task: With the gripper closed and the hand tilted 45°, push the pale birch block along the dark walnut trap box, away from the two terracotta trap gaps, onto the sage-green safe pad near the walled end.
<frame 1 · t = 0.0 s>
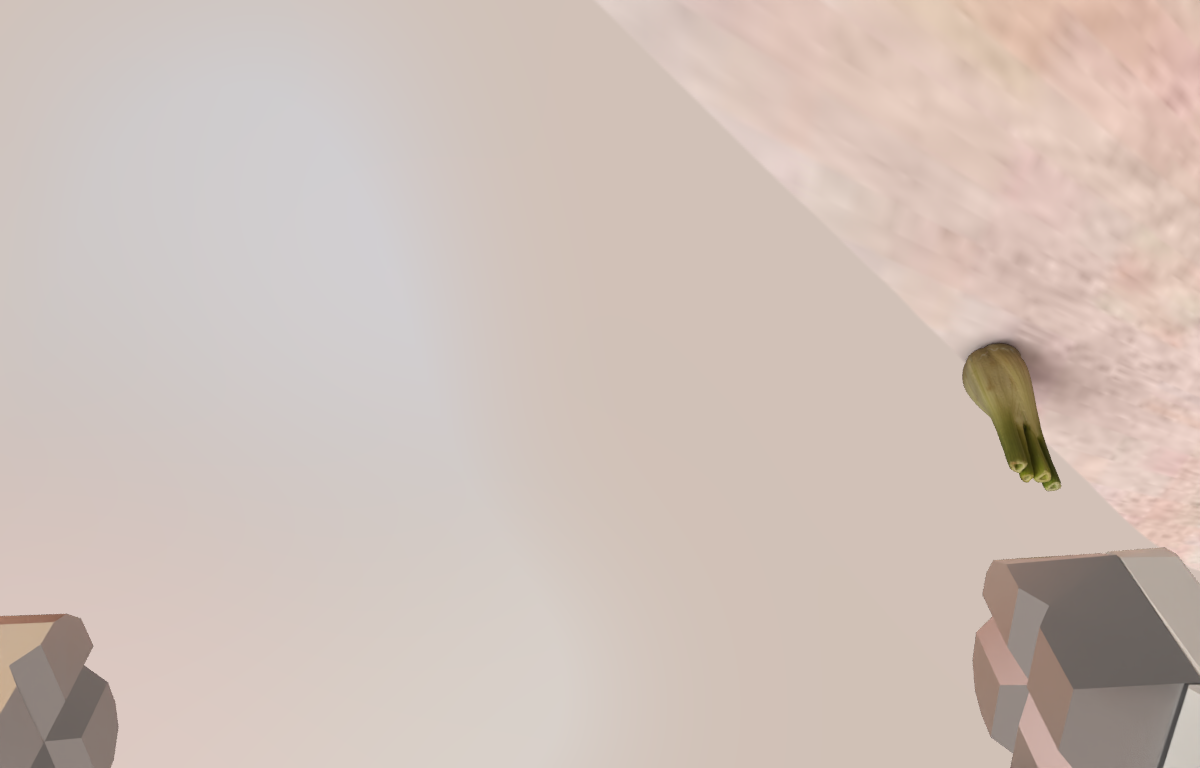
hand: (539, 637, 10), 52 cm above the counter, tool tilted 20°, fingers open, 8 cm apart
fennel bulb: (987, 356, 87), on the counter
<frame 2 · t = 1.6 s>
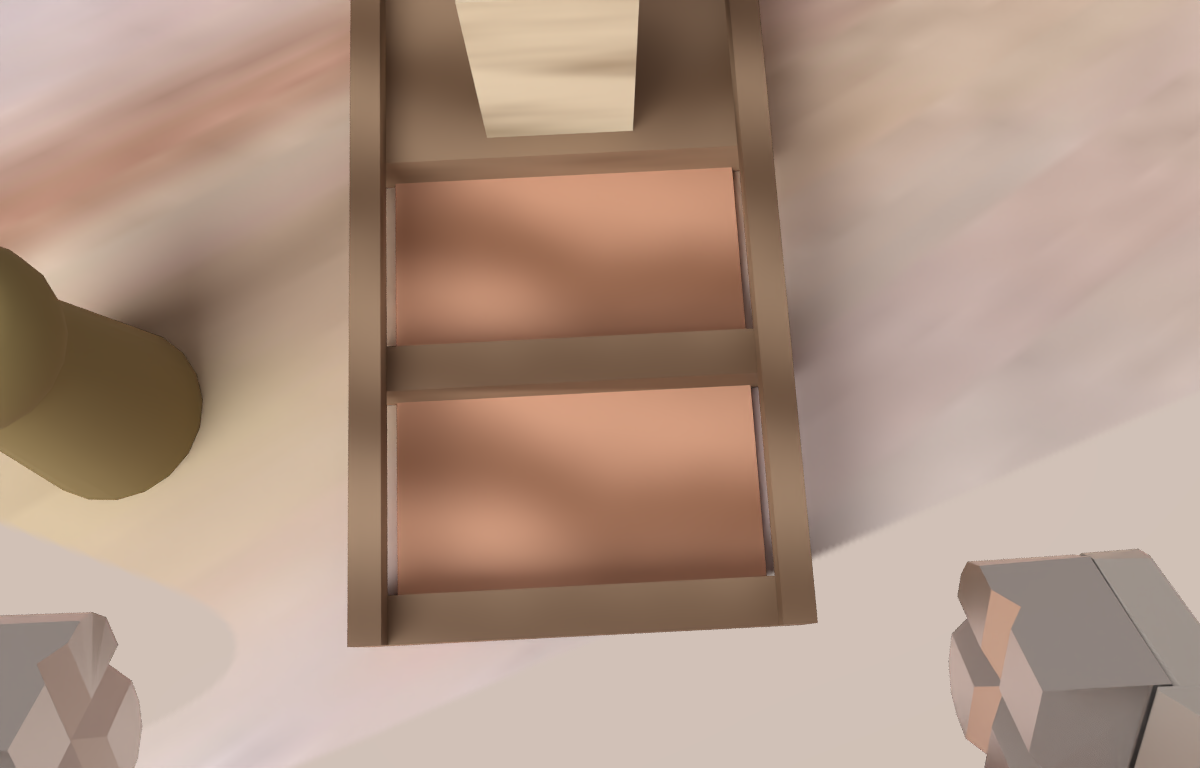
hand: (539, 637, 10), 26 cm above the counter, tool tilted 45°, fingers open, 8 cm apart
trap box: (565, 205, 39), on the counter
birch block: (557, 68, 38), point 2 cm above the counter, touching trap box
cork: (116, 413, 37), on the counter
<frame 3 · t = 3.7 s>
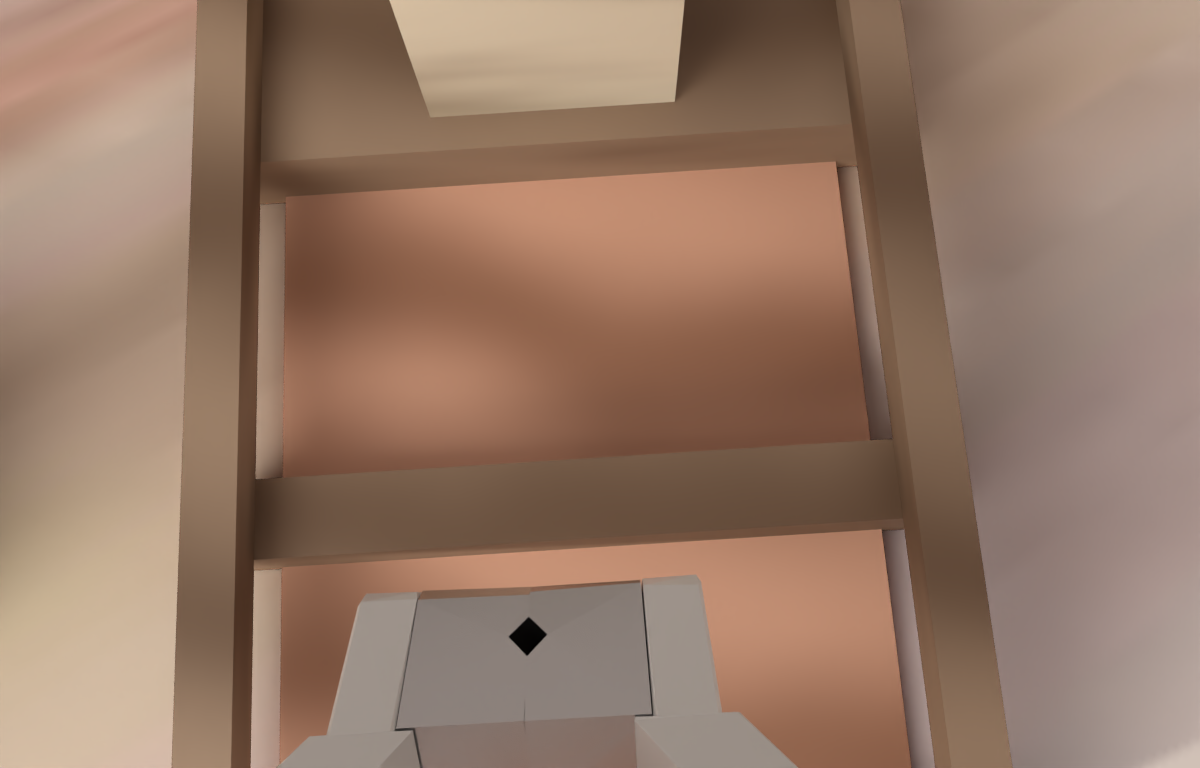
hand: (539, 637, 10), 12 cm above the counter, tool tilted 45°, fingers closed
trap box: (563, 227, 24), on the counter
birch block: (546, 1, 23), point 2 cm above the counter, touching trap box
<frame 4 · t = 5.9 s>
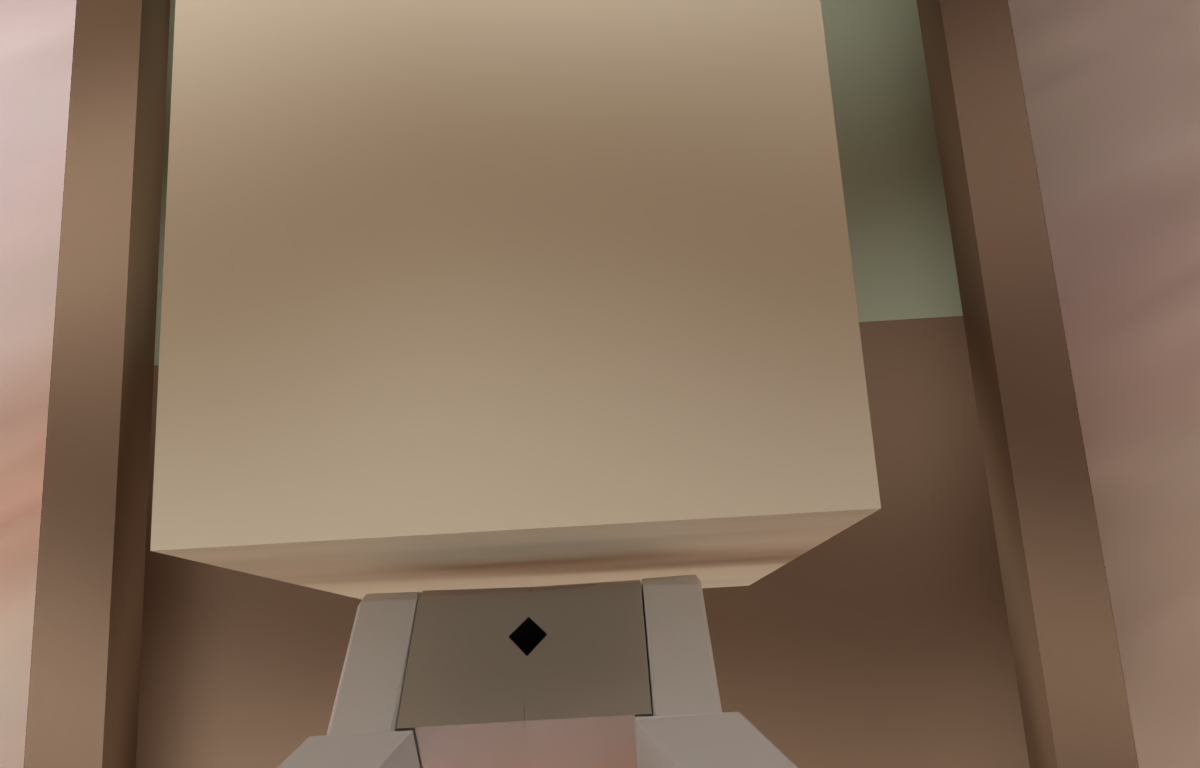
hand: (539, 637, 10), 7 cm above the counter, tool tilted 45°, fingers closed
birch block: (561, 421, 16), point 2 cm above the counter, touching trap box
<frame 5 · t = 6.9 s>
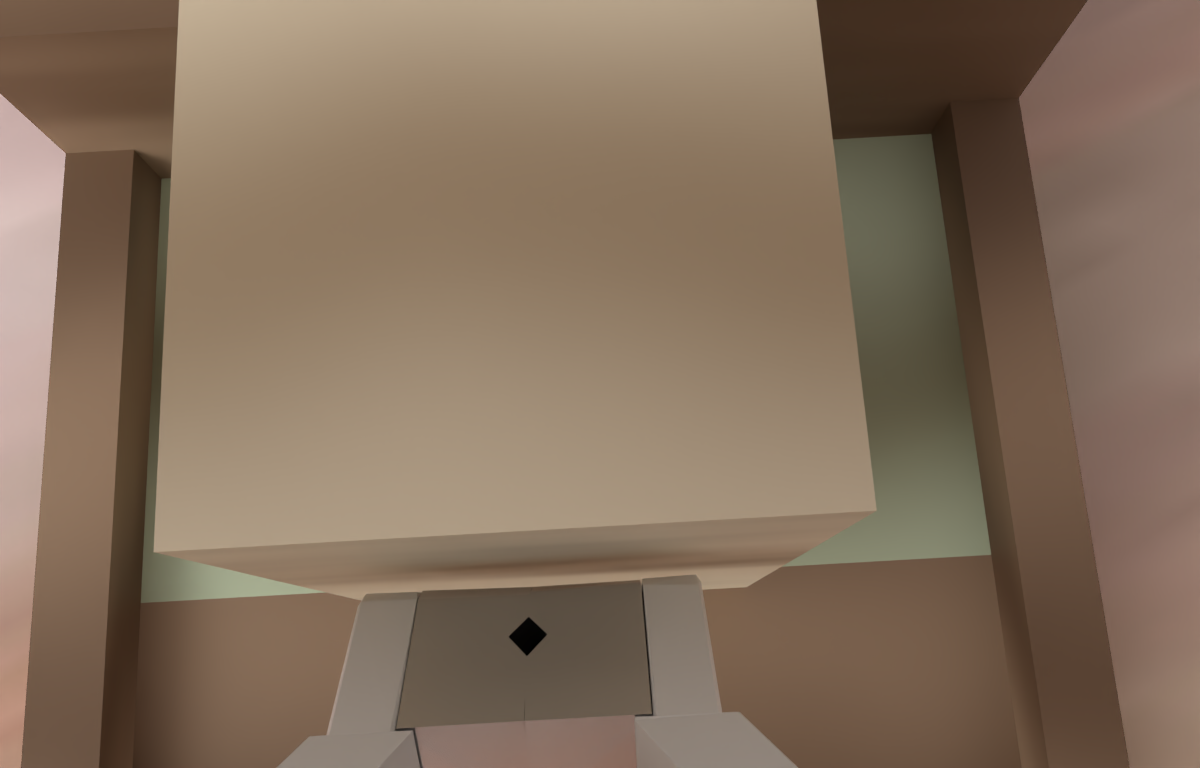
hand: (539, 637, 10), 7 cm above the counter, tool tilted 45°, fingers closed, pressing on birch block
birch block: (560, 423, 16), point 2 cm above the counter, touching gripper, trap box
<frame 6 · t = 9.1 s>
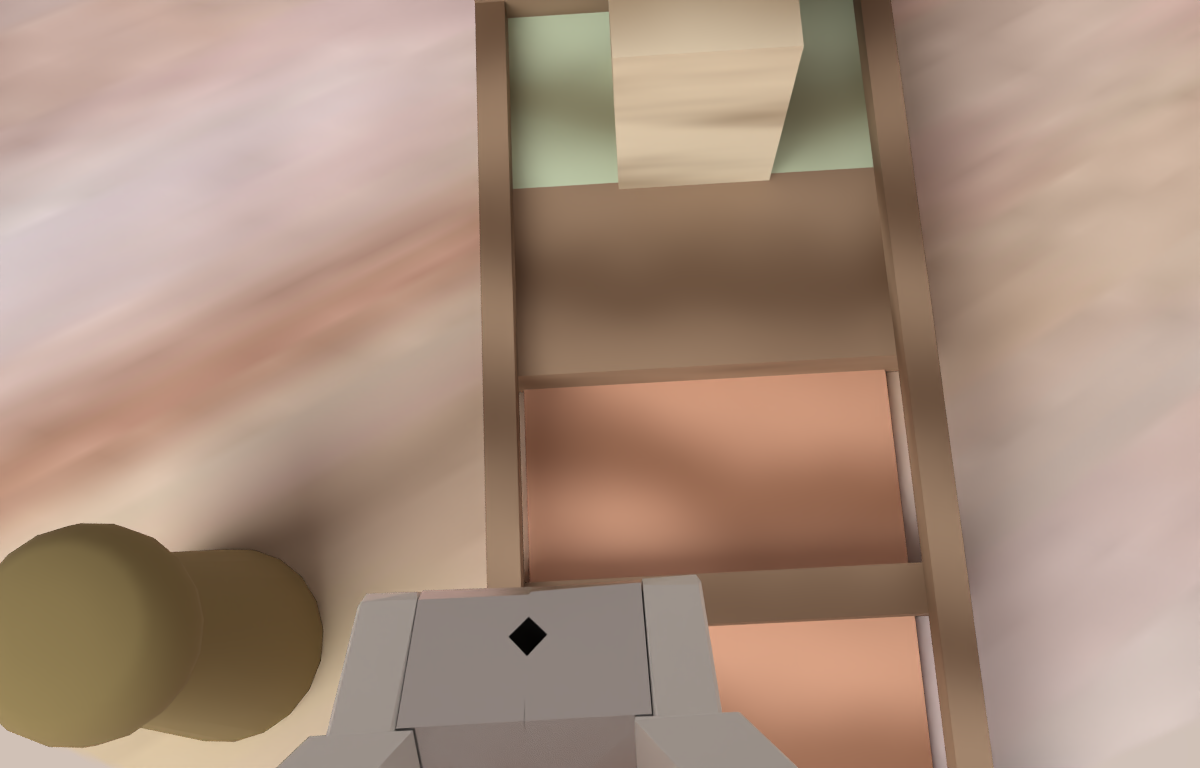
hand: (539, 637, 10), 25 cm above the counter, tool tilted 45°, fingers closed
trap box: (705, 410, 36), on the counter
birch block: (688, 116, 37), point 2 cm above the counter, touching trap box
cork: (231, 643, 35), on the counter
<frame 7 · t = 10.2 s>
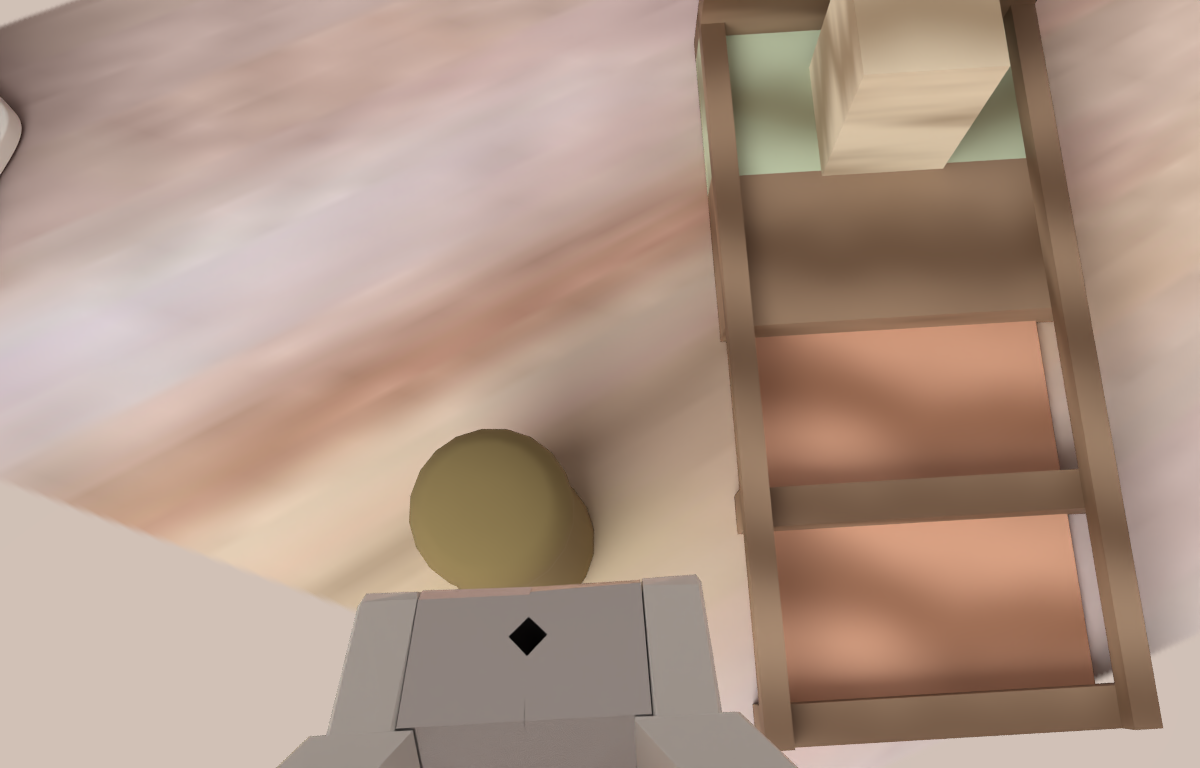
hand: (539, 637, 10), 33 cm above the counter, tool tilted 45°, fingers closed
trap box: (891, 354, 45), on the counter
birch block: (875, 117, 45), point 2 cm above the counter, touching trap box
cork: (519, 542, 44), on the counter
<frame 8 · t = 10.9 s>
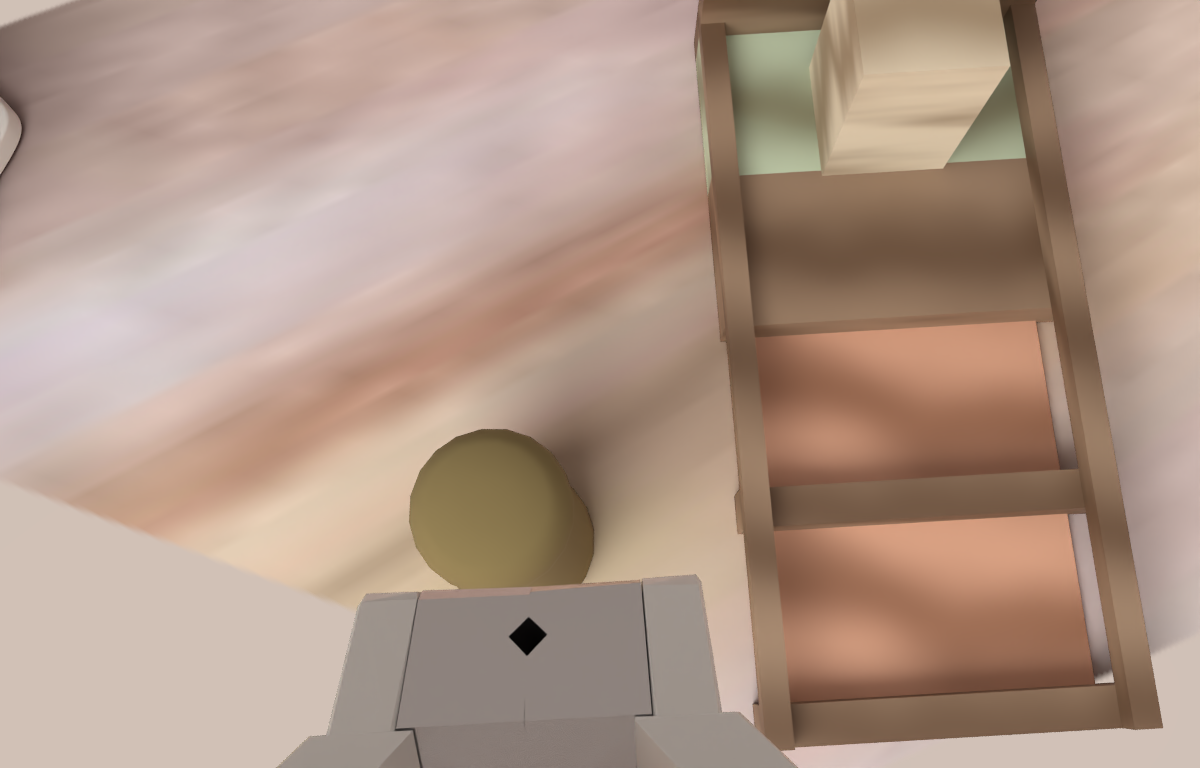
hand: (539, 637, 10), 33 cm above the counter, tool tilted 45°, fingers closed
trap box: (891, 354, 45), on the counter
birch block: (875, 117, 45), point 2 cm above the counter, touching trap box
cork: (519, 541, 44), on the counter
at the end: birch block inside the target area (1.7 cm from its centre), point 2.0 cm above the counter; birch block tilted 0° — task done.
